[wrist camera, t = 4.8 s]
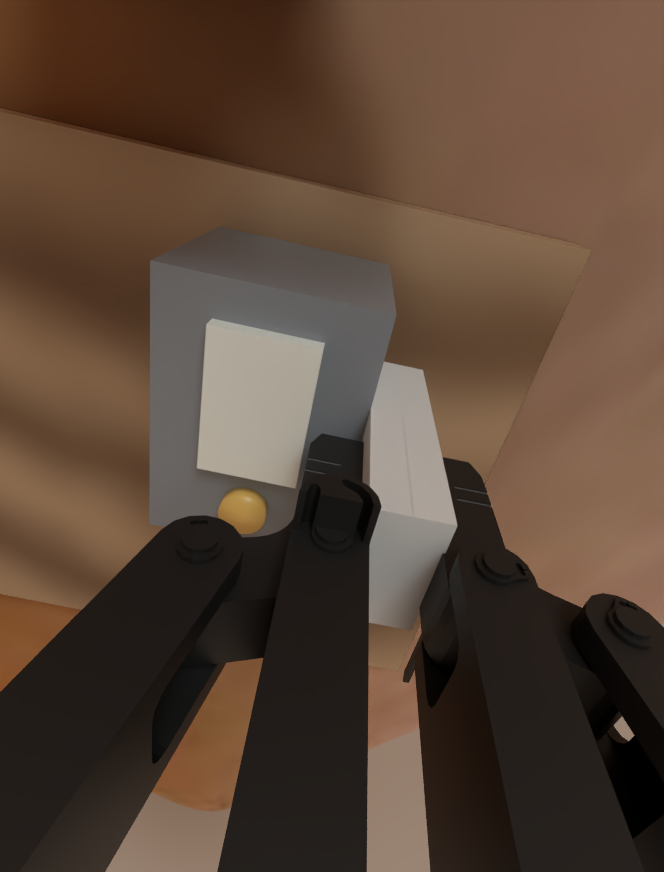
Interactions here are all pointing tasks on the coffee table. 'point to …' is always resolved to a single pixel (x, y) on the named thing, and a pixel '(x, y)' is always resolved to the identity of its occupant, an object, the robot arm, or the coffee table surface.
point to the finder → (256, 371)
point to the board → (130, 329)
